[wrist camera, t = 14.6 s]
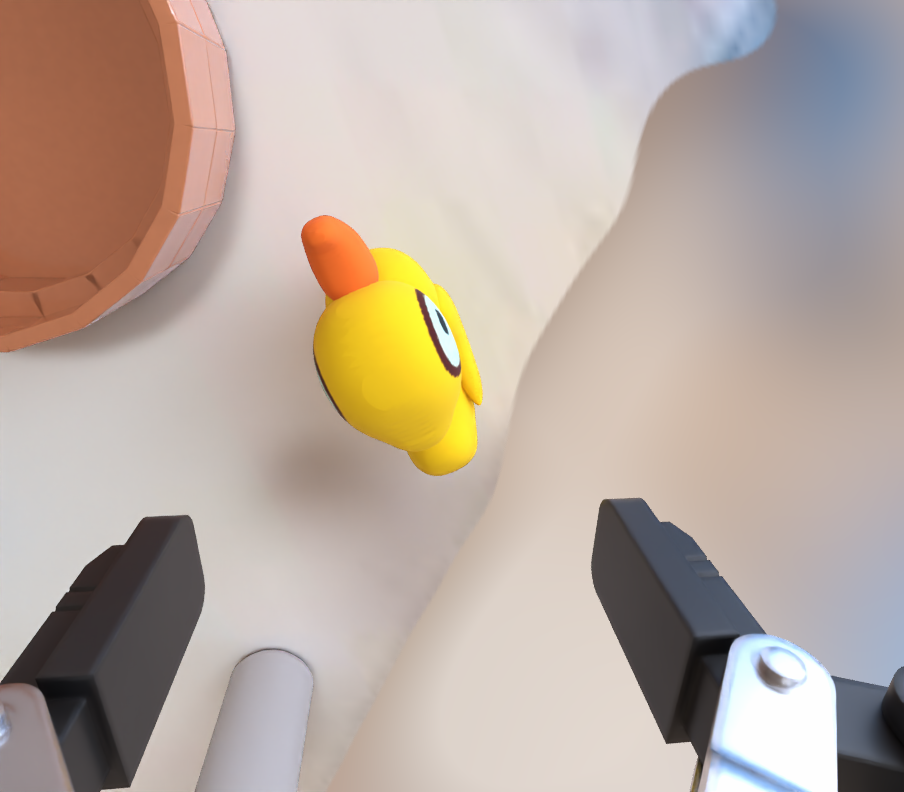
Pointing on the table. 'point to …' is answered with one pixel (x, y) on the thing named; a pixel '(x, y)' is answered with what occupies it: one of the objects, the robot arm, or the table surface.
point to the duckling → (392, 349)
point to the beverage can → (260, 726)
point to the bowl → (104, 154)
